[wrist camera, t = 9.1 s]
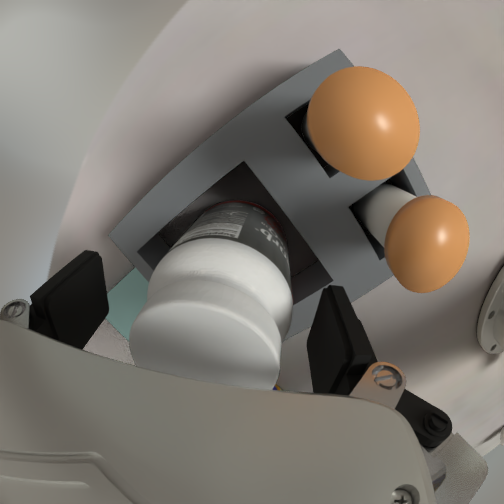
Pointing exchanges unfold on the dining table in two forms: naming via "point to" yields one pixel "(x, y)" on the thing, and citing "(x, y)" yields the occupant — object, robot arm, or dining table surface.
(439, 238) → the plunger
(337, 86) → the plunger
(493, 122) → the dining table surface
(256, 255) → the pill bottle
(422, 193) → the housing
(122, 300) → the pad
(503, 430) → the white rounded lump
